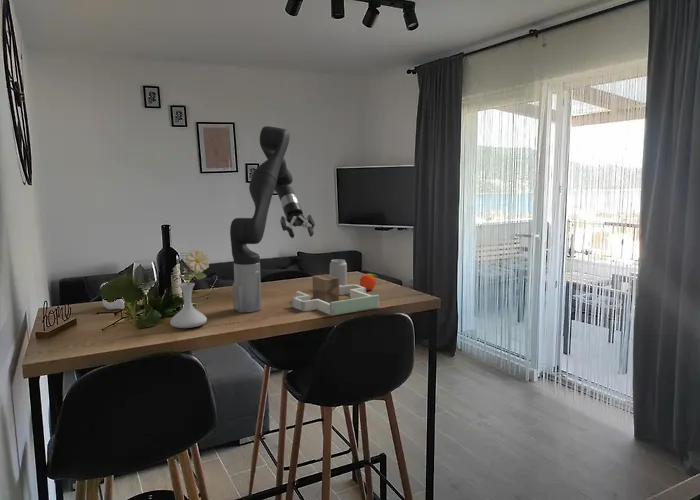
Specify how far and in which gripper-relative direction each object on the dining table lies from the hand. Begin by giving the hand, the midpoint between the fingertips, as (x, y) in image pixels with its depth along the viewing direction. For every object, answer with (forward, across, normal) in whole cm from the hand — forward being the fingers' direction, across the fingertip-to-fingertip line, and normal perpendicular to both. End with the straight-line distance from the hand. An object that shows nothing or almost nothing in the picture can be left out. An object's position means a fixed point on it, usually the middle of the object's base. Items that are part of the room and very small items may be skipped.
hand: (302, 236), depth 211 cm
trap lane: (+36, +1, -5) cm, 37 cm away
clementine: (+27, +24, +6) cm, 36 cm away
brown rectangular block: (+31, 0, +1) cm, 31 cm away
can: (+19, +15, +14) cm, 28 cm away
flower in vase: (+37, -53, -6) cm, 65 cm away
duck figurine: (+11, -74, +20) cm, 77 cm away
